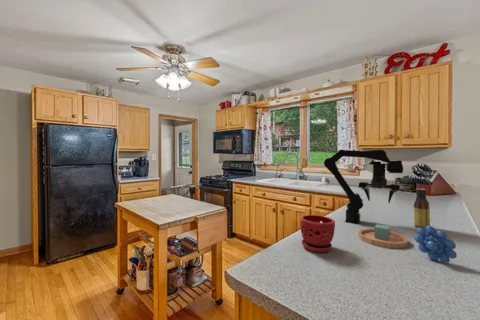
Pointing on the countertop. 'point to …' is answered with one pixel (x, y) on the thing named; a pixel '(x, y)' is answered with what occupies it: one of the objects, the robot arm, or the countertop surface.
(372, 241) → the dish
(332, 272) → the countertop surface
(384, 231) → the block
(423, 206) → the sauce bottle
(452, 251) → the grapes
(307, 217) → the plant pot
